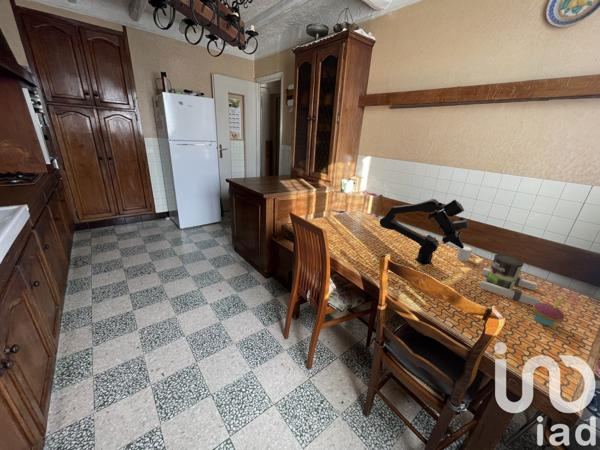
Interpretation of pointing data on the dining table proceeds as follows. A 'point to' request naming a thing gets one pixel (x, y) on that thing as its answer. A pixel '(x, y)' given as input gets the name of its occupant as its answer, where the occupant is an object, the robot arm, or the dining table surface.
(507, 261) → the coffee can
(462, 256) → the shot glass
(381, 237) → the dining table surface
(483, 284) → the guide track
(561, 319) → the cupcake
